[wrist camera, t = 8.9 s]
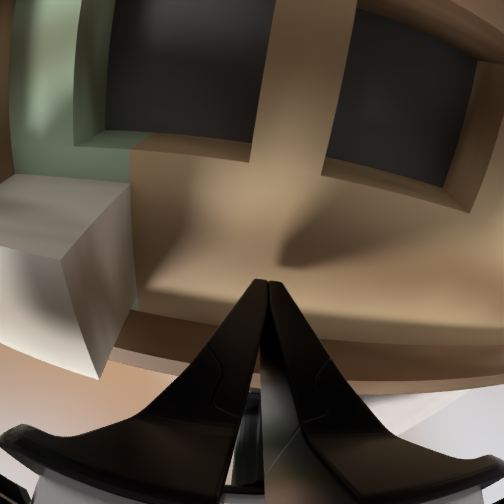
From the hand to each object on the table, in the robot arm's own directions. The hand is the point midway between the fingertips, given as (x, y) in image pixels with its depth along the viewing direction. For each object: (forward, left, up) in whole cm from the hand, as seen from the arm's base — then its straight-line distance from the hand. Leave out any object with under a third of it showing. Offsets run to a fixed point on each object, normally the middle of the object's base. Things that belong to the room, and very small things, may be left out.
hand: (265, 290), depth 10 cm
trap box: (+3, -2, -4) cm, 5 cm away
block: (0, +7, -1) cm, 7 cm away
